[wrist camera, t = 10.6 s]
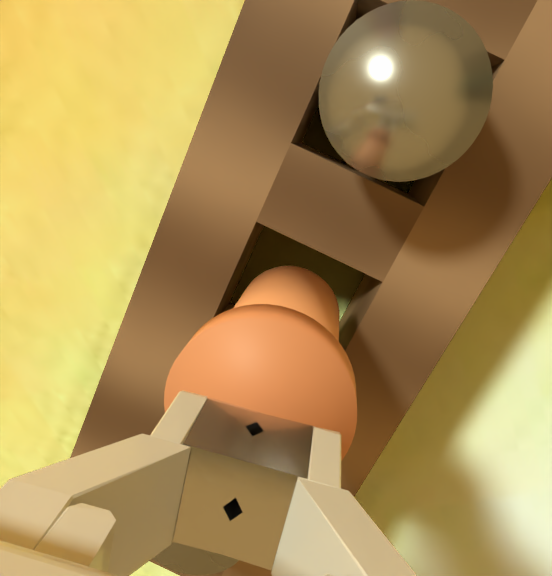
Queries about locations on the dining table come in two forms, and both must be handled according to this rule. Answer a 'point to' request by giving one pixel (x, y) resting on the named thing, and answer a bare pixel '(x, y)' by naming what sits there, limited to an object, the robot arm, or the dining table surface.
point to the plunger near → (405, 91)
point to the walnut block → (333, 217)
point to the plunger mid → (275, 355)
